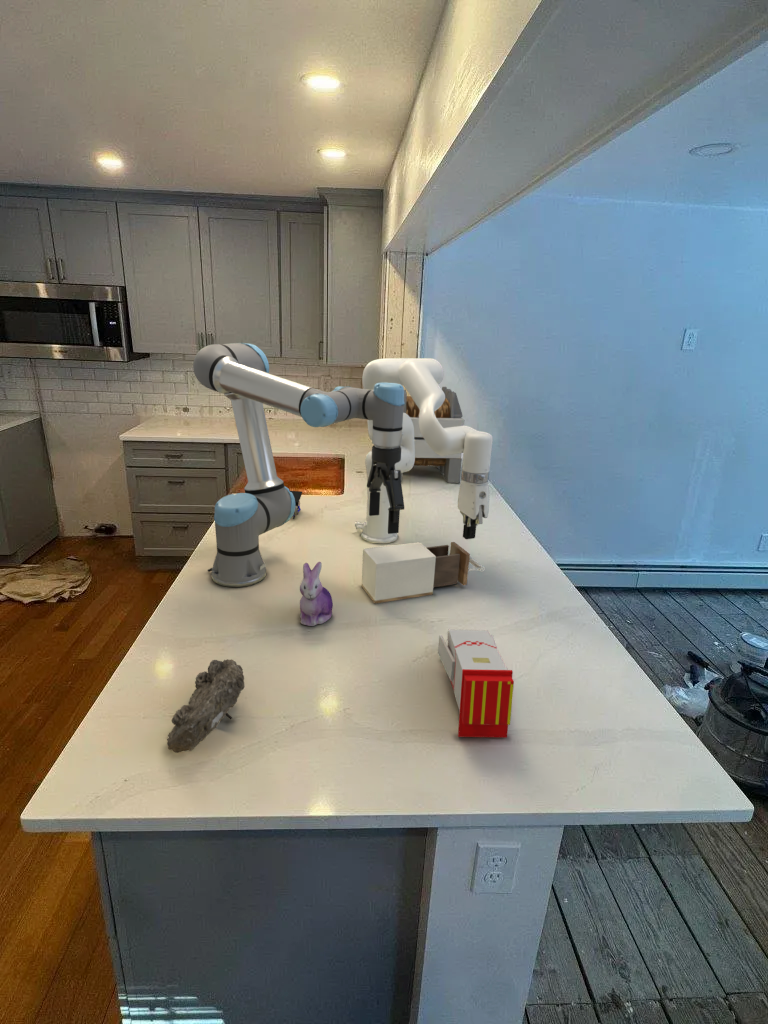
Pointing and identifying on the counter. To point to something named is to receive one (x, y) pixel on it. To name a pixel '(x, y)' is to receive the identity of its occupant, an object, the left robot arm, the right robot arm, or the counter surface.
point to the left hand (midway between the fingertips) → (383, 523)
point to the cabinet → (398, 572)
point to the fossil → (206, 705)
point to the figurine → (314, 598)
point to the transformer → (447, 417)
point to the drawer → (452, 565)
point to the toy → (478, 682)
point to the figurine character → (296, 501)
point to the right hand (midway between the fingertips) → (468, 537)
